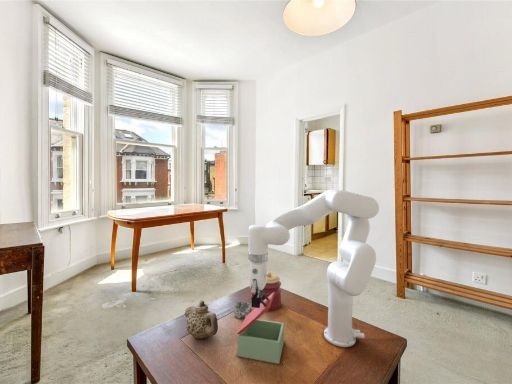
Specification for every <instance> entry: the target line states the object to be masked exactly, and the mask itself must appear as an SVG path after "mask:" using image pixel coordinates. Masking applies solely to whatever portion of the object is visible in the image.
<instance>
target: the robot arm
mask: <svg viewBox="0 0 512 384" xmlns="http://www.w3.org/2000/svg"><path fill="white" fill-rule="evenodd" d="M379 211H380V205H379V203H378V201H377V200H376V199H375V198H373V197H372V196H368V195H363V194H359V193H355V192H351V191H348V190H343V189H327V190H325V191H323V192H321V193H320V194H318V195H317V196H315V197H313V198H312V199H310V200H309V201H306V202H305V203H304V204H302V205H300V206H297V207H295V208H293V209H291V210H288V211H285V212H284V213H281V214H280V215H278V216H276V217H275V218H274V219H272V220H270V221H269V222H268V223H267V224H266V225H265V224H258V223H257V224H252V225H251V224H250V226H249V227H248V231H247V232H248V235H247V237H248V239H247V240H248V242H247V243H248V245H247V250H248V254H247V255H248V256H247V257H248V259H247V260H248V263H250V264H249V265H250V266H249V288H250V290H251V291H250V292H251V296H250V297H251V300H250V301H251V303H250V307H251V308H254V309H255V308H260V297H259V293H260V290H264V287H265V285H266V283H267V272H268V267H267V265H268V264H267V263H268V261H269V245H273V246H283V245H285V244H287V243H288V242H289V241H290V237H291V234H290V230H292V229H295V228H297V227H303V226H310V225H314V224H315V223H317V222H319V221H320V220H322V219H323V218H325V217H327V216H328V215H330V214H332V213H333V212H336V213H339V214H343V215H346V217H347V227H346V230H345V233H344V235H343V238H342V240H341V243H340V245H339V248H338V254H339V256H340V257H341V258H342V259H343V260H345V261H347V262H348V263H349V264H347V263H346V262H343V261H340V260H336V261H335V260H334V261H333V262H331V263H330V264H329V265H328V267H327V269H326V281H327V287H328V288H327V289H328V299H327V300H328V301H327V302H328V303H327V305H328V306H327V327H326V328H325V329H324V331H323V336H324V339H325V340H326V341H327V342H328V343H330V344H331V345H333V346H337V347H341V348H348V347H352V346H354V345H355V344H356V341H357V339H365V333H363V332H361V330H360V329H354V328H353V305H354V304H353V302H354V300H353V299H354V297H358V296H360V295H362V293H363V292H364V291H365V290H366V288H367V285H368V283H369V280H370V278H371V276H372V273H373V271H374V268H375V265H376V262H377V254H376V251H375V249H374V248H373V246H372V245H371V244H368V243H367V240H368V237H369V235H370V229H371V228H370V227H371V226H370V219H373V218H375V217H376V216H377V215H378V213H379ZM257 288H258V289H257ZM262 299H264V296H263V298H262Z"/></svg>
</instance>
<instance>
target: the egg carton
mask: <svg viewBox="0 0 512 384" xmlns="http://www.w3.org/2000/svg"><path fill="white" fill-rule="evenodd" d="M234 312H235V318H237V319H241V318H244V319H245V318H246V316H247V315H248V314H249V313H250V312H251V303H250V302H247V301H239V300H236V301H235V305H234Z"/></svg>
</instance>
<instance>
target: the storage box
mask: <svg viewBox="0 0 512 384" xmlns="http://www.w3.org/2000/svg"><path fill="white" fill-rule="evenodd" d="M284 342H285V323H284V322H279V321H273V320H267V319H266V320H265V319H260V318H258V319H257V320H256V321H254V322H253V323H252V324H251V325H250V326H249V327H247V328H246V329H245V330H244V331H243V332H242V333H240V334H239V335H238V334H237V357H240V358H245V359H251V360H256V361H262V362H265V363H266V362H267V363H272V364H278V365H280V363H281V356H282V352H283V348H284Z"/></svg>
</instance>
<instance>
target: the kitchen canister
mask: <svg viewBox="0 0 512 384" xmlns="http://www.w3.org/2000/svg"><path fill="white" fill-rule="evenodd" d="M281 286H282V281H281V280H280V277H279V276H277V275H276V274H274V273H272V272H271V271H267V283H266V285H265V287H264V291H265V295H266V296H267V297H269V296H270V295H271V294H272V293H273V292H274V293H275V295H274V298H273V300H272V303H271V306H270V308H269V309H268V310H267V311H266V312H272V311H276V310H278V309H280V307H281V305H282V299H281V297H282V288H281ZM256 288H257V287H256ZM257 289H258V288H257ZM265 299H266V298H265V297H264V299H262V300H263V301H264V300H265ZM260 304H261V302H260Z"/></svg>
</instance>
